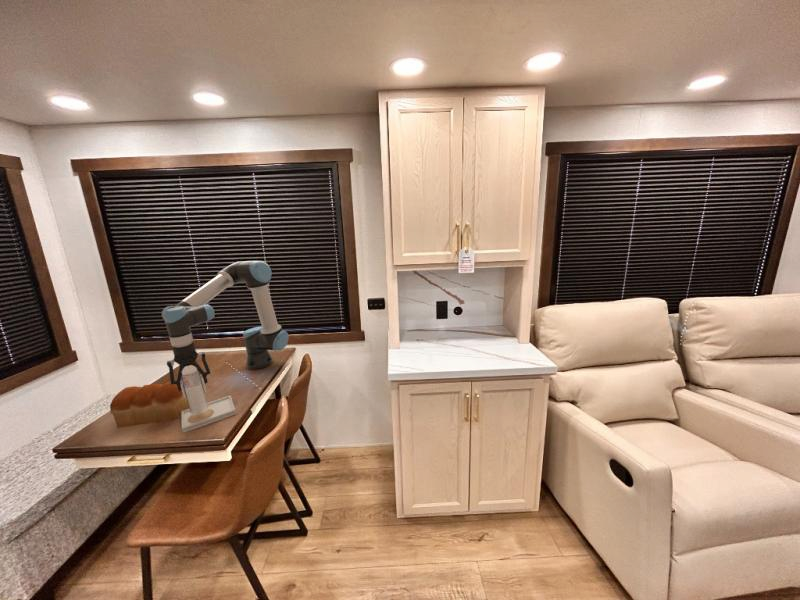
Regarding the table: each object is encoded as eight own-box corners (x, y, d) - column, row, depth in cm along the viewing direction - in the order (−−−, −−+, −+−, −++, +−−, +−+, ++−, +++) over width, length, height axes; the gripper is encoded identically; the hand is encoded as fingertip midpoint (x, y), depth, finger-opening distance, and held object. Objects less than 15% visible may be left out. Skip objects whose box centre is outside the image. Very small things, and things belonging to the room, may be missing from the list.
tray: (231, 399, 150) (230, 395, 149) (236, 413, 137) (235, 409, 136) (182, 415, 139) (181, 411, 138) (182, 432, 126) (181, 428, 125)
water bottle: (209, 411, 134) (197, 359, 128) (191, 418, 130) (177, 364, 124) (207, 405, 139) (195, 354, 133) (189, 411, 135) (176, 359, 129)
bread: (115, 428, 132) (105, 398, 129) (134, 412, 144) (125, 384, 141) (178, 418, 136) (170, 389, 133) (191, 403, 148) (184, 376, 145)
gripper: (209, 335, 135) (220, 382, 141) (153, 348, 124) (167, 398, 130) (210, 340, 129) (221, 388, 135) (152, 353, 118) (167, 405, 124)
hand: (195, 393), depth 132 cm, fingers closed on water bottle, 7 cm apart
